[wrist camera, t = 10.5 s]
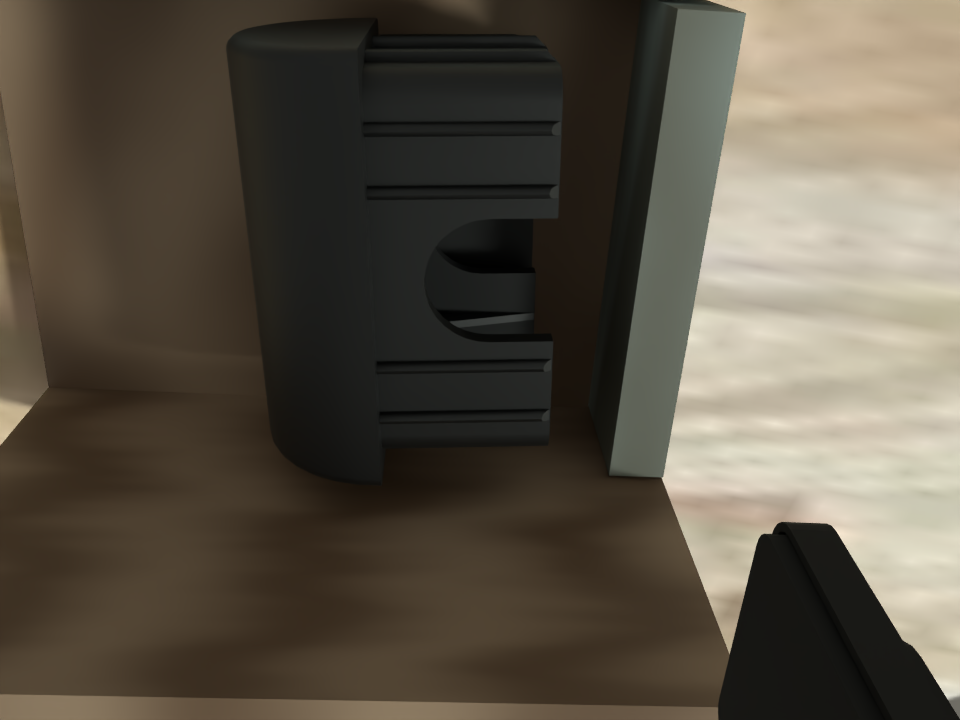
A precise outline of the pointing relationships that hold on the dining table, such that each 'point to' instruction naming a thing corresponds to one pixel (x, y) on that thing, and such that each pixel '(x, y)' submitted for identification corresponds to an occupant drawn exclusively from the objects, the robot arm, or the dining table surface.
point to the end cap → (396, 236)
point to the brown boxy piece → (407, 471)
